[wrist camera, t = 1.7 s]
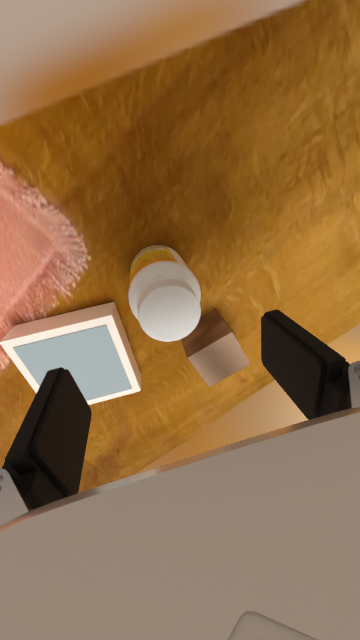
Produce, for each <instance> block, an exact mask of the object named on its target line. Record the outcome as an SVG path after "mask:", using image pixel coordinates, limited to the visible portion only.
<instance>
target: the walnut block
mask: <svg viewBox="0 0 360 640" xmlns="http://www.w3.org/2000/svg"><path fill="white" fill-rule="evenodd" d="M181 340H182V343H183V346H184V349H185V352H186V355H187V358H188V359H189V361H190V362H191V363H192V365H193V366H194V367H195V369H196V370H197V371H198V372H199V374H200V375H201V376H202V378H203V379H204V380H205V382H206V383H207V384H208V386H209V387H210V386H212V385H214V384H216V383H217V382H219V381H221V380H223V379H225V378H226V377H228V376H230V375H232V374H234V373H235V372H237V371H239V370H241V369H243V368H244V367H246V366H248V365H250V363H249V361H248V359H247V357H246V356H245V354H244V352H243V350H242V348H241V347H240V345H239V343H238V341H237V339H236V338H235V336H234V334H233V332H232V331H231V329H230V328H229V327H228V325H227V324H226V322H225V321H224V320H223V318H222V317H221V315H220V314H219V313H218V311H217V310H214V311H212V312H211V313H209V314H207V315H206V316H204V317H202V318H201V319H200V320H199V322H198V324H197V326H196V327H195V329H194V330H193V331H192V332H191V333H190V334H189V335H187V336H186V337H184V338H182V339H181Z"/></svg>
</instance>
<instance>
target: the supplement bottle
mask: <svg viewBox="0 0 360 640" xmlns="http://www.w3.org/2000/svg"><path fill="white" fill-rule="evenodd" d="M128 299H129V305H130V308H131V310H132V312H133V314H134V316H135V317H136V318H137V319H138V320H139V323H140V325H141V327H142V329H143V330H144V332H145V333H146V334H147V335H149V336H150V337H151V338H154V339H156V340H159V341H164V342H170V341H176V340H180V339H182V338H184V337H186V336H187V335H189V334H190V333H191V332H192V331H193V330H194V329H195V327H196V326H197V324H198V322H199V320H200V315H201V308H200V299H201V291H200V286H199V283H198V281H197V279H196V277H195V275H194V274H193V273H192V271H191V270H190V269H189V267H188V266H187V265H186V263H185V262H184V261H183V259H182V258H181V257H180V255H179V254H178V253H177V252H176V251H174V250H173V249H171V248H169V247H166V246H162V245H155V246H150V247H147V248H145V249H143V250H141V251H140V252H139V253H138V254H137V255H136V256H135V258H134V259H133V261H132V264H131V268H130V279H129V293H128Z"/></svg>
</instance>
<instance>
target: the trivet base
mask: <svg viewBox="0 0 360 640" xmlns="http://www.w3.org/2000/svg"><path fill="white" fill-rule="evenodd" d="M0 344H1V345H2V347H3V348H4V350H5V351H6V352H7V354H8V355H9V356H10V358H11V359H12V361H13V362H14V363H15V365H16V366H17V367H18V369H19V370H20V372H21V373H22V374H23V376H24V377H25V379H26V380H27V381H28V383H29V384H30V385H31V387H32V388H33V390H34V391H35V392H36V393H37V391H38V389H39V387H40V385H41V383H42V381H43V379H44V377H45V375H46V373H47V371H49V370H52V369H56V368H60V367H63V368H64V369H68V370H69V371H70V373H71V375H72V377H73V378H74V380H75V382H76V384H77V386H78V387H79V389H80V391H81V393H82V394H83V396H84V398H85V400H86V401H87V403H88V405H90V404H94V403H98V402H101V401H105V400H109V399H113V398H116V397H120V396H124V395H128V394H131V393H135V392H139V391H141V382H140V371H139V368H138V366H137V363H136V360H135V357H134V355H133V352H132V349H131V346H130V344H129V341H128V338H127V335H126V333H125V330H124V327H123V324H122V322H121V319H120V316H119V313H118V311H117V308H116V305H115V302H111V303H106V304H102V305H98V306H94V307H90V308H85V309H81V310H77V311H73V312H69V313H65V314H60V315H56V316H52V317H48V318H44V319H39V320H35V321H31V322H27V323H23V324H19V325H15V326H14V327H13V328H12V329H11V330H10V331H9V332H8V333H7V334H6V335H5V337H4V338H3V339H2V340H1V341H0Z"/></svg>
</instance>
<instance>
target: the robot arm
mask: <svg viewBox="0 0 360 640" xmlns="http://www.w3.org/2000/svg"><path fill="white" fill-rule="evenodd" d="M261 359H262V363H263V365H264V366H265V368H266V369H267V370H268V371H269V373H270V374H271V375H272V376H273V377H274V379H275V380H276V381H277V382H278V383H279V385H280V386H281V387H282V388H283V389H284V391H285V392H286V393H287V395H288V396H289V397H290V398H291V399H292V400H293V402H294V403H295V404H296V405H297V407H298V408H299V409H300V410H301V412H302V413H303V414H304V415H305V416H306V418H307V419H309V420H307V421H304V422H300V423H297V424H294V425H291V426H287V427H284V428H281V429H278V430H275V431H271V432H268V433H265V434H262V435H258V436H255V437H252V438H249V439H246V440H242V441H239V442H236V443H233V444H230V445H226V446H223V447H220V448H217V449H214V450H211V451H208V452H205V453H201V454H198V455H195V456H192V457H189V458H185V459H183V460H179V461H176V462H173V463H170V464H167V465H164V466H160V467H157V468H154V469H151V470H148V471H145V472H142V473H139V474H136V475H132V476H129V477H126V478H123V479H120V480H117V481H114V482H111V483H108V484H105V485H101V486H98V487H95V488H92V489H90V490H87V491H84V492H81V493H78V490H79V484H80V479H81V473H82V467H83V461H84V456H85V450H86V444H87V438H88V433H89V427H90V421H91V409H90V407H89V405H88V403H87V401H86V400H85V398H84V396H83V394H82V393H81V391H80V389H79V387H78V386H77V384H76V382H75V380H74V378H73V377H72V375H71V373H70V371H69V370H68V369H64V368H63V367H60V368H56V369H52V370H49V371H47V373H46V375H45V377H44V379H43V381H42V383H41V385H40V387H39V389H38V391H37V393H36V396H35V398H34V400H33V402H32V404H31V406H30V408H29V410H28V412H27V414H26V416H25V419H24V421H23V423H22V425H21V427H20V429H19V431H18V433H17V435H16V437H15V439H14V442H13V444H12V446H11V448H10V450H9V452H8V454H7V456H6V458H5V463H4V465H3V467H2V469H0V640H360V361H356V362H354V363H352V364H351V365H350V364H349V363H348V362H346V361H345V360H346V359H345V358H344V357H342V356H340V354H338V353H337V352H335V351H334V350H333V349H331V348H330V347H328V346H327V345H326V344H324V343H323V342H322V341H320V340H319V339H318V338H316V337H315V336H313V335H312V334H311V333H309V332H308V331H307V330H305V329H304V328H302V327H301V326H300V325H298V324H297V323H296V322H294V321H293V320H291V319H290V318H289V317H287V316H286V315H285V314H283V313H282V312H280V311H279V310H273V311H269V312H266V313H265V314H264V316H262V318H261ZM77 493H78V494H77Z"/></svg>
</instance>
